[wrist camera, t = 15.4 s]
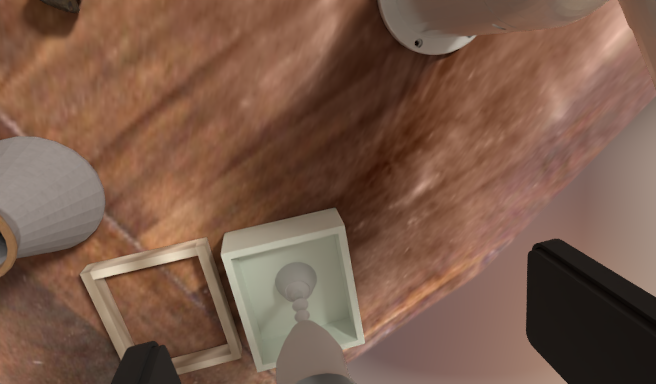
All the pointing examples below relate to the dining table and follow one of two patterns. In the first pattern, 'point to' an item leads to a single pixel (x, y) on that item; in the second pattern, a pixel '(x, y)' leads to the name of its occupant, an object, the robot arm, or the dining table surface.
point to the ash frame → (200, 247)
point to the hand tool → (64, 5)
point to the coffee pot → (45, 198)
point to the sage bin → (266, 261)
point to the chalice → (307, 336)
